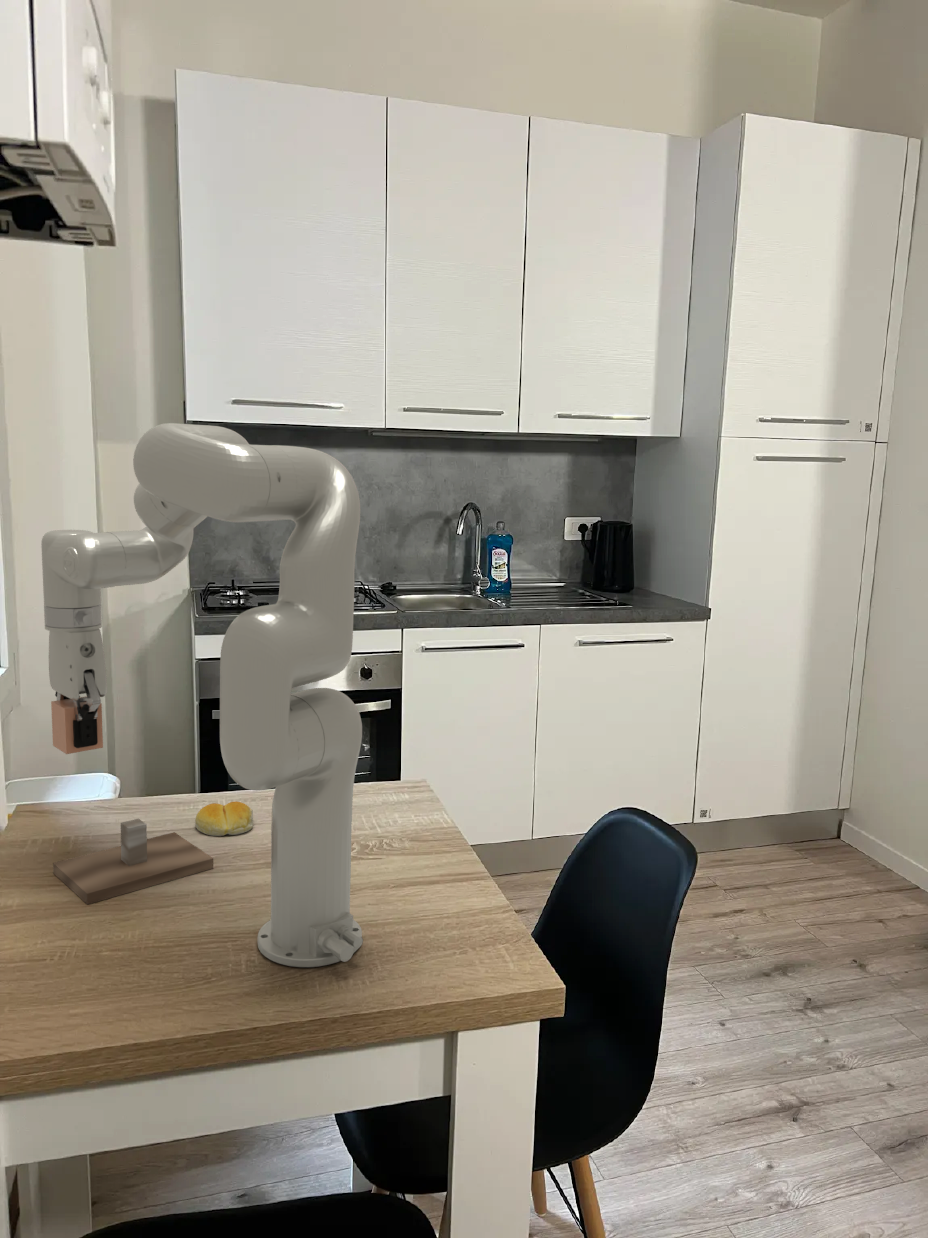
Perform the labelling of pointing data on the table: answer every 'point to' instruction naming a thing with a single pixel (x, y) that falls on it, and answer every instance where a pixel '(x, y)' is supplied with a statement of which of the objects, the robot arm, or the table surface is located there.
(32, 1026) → the table surface
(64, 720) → the salmon orange block
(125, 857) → the flat brown rectangular board
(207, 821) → the bread roll
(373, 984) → the table surface
